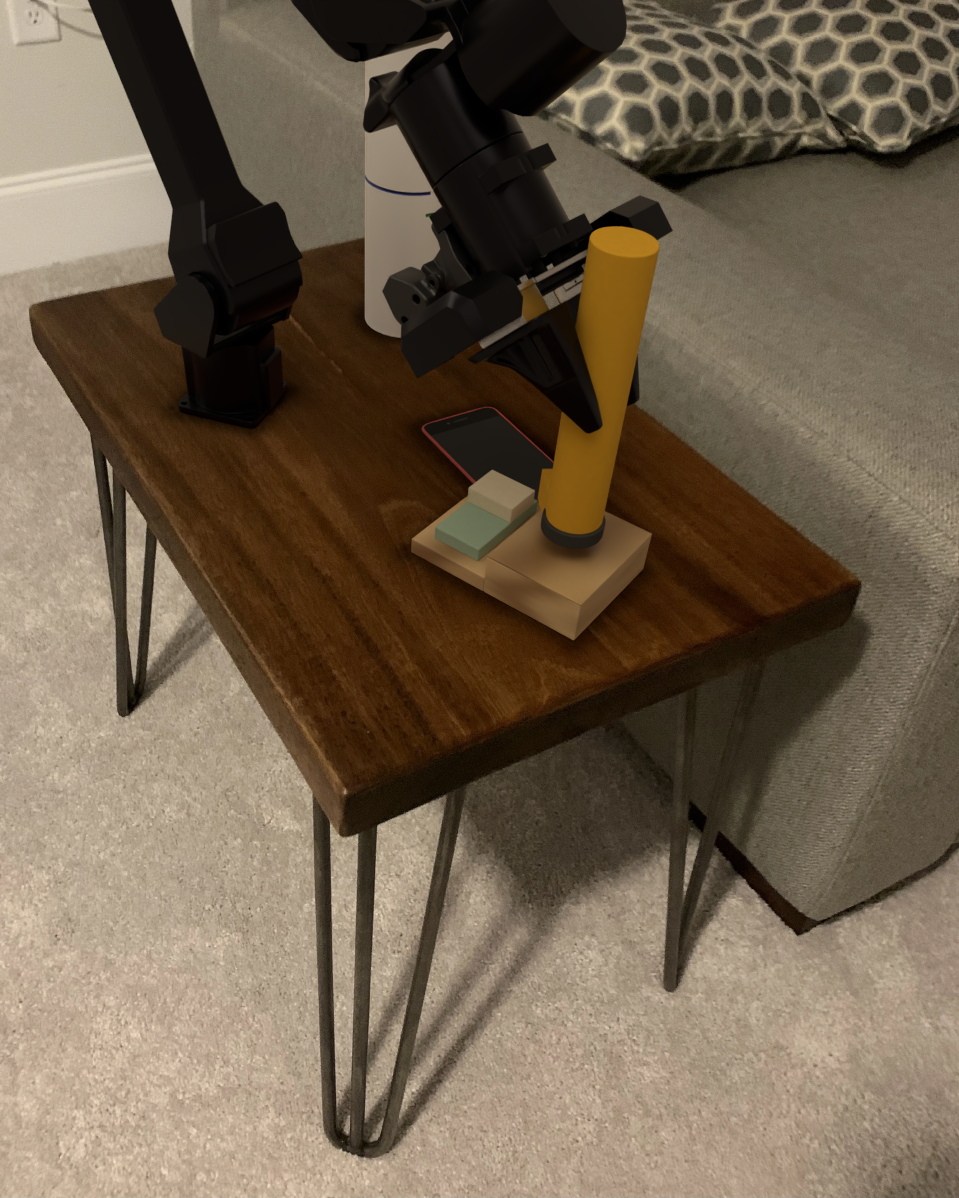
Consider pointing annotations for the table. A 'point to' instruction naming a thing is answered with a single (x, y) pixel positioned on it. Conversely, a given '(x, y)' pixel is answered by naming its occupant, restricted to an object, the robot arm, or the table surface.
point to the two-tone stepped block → (487, 515)
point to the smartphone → (488, 447)
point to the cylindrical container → (394, 203)
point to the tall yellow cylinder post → (599, 383)
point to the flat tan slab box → (546, 570)
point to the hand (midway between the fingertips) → (614, 416)
